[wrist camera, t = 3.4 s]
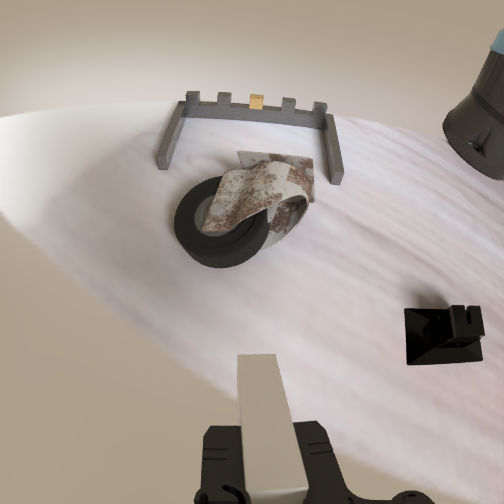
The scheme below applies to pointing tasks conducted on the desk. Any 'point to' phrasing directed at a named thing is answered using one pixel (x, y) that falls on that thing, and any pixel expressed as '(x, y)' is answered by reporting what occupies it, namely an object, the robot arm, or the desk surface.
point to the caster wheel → (245, 208)
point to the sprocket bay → (254, 113)
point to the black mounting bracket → (443, 335)
